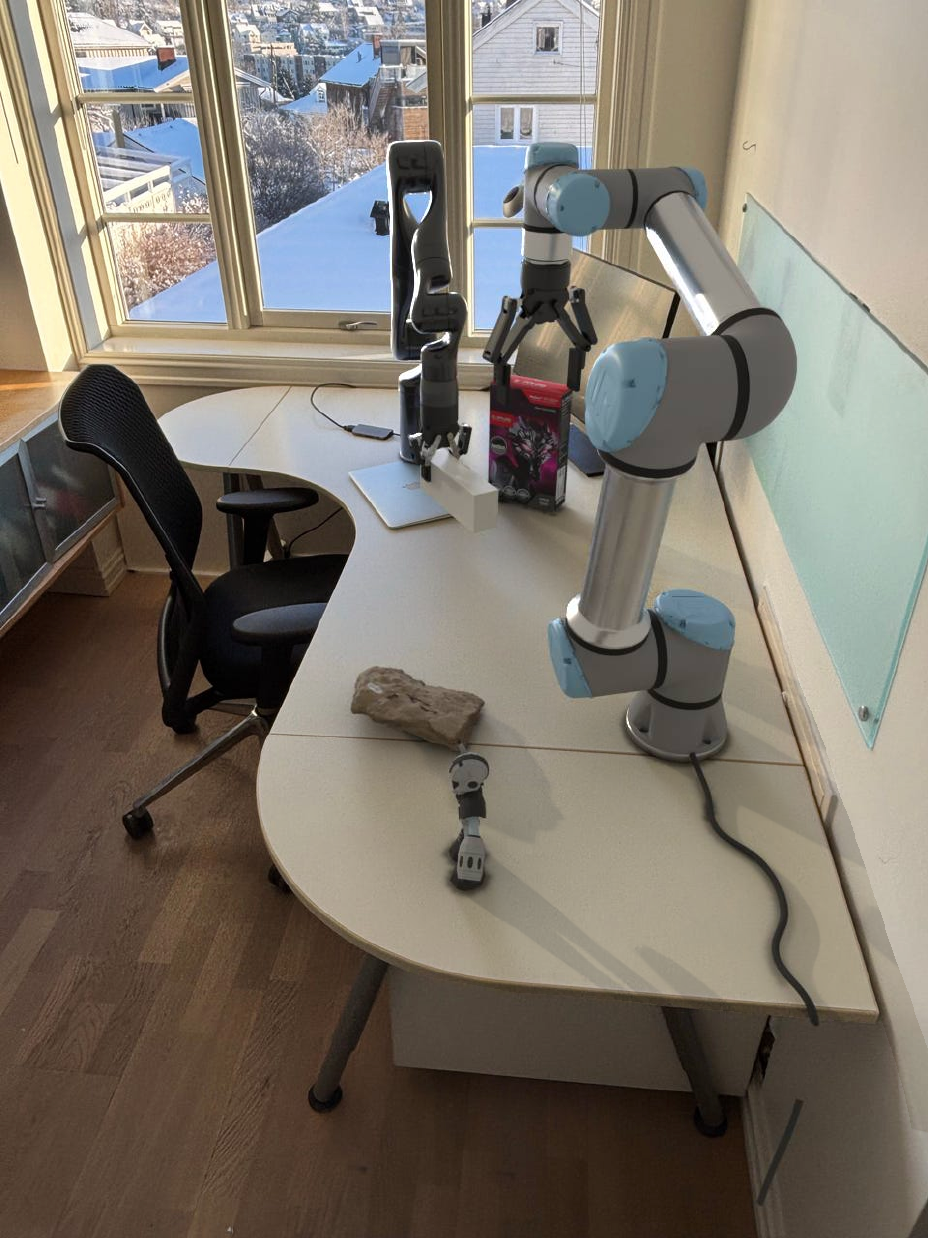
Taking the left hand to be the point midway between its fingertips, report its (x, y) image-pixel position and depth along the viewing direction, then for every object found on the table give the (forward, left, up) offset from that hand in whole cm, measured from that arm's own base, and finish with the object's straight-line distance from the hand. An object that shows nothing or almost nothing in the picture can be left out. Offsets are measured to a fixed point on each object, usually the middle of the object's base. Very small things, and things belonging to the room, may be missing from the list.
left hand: (439, 477), depth 189 cm
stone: (+61, -12, -13) cm, 63 cm away
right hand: (+31, +12, +28) cm, 44 cm away
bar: (+7, +3, -4) cm, 8 cm away
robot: (+91, -8, -13) cm, 92 cm away
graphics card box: (-12, +21, -13) cm, 27 cm away
